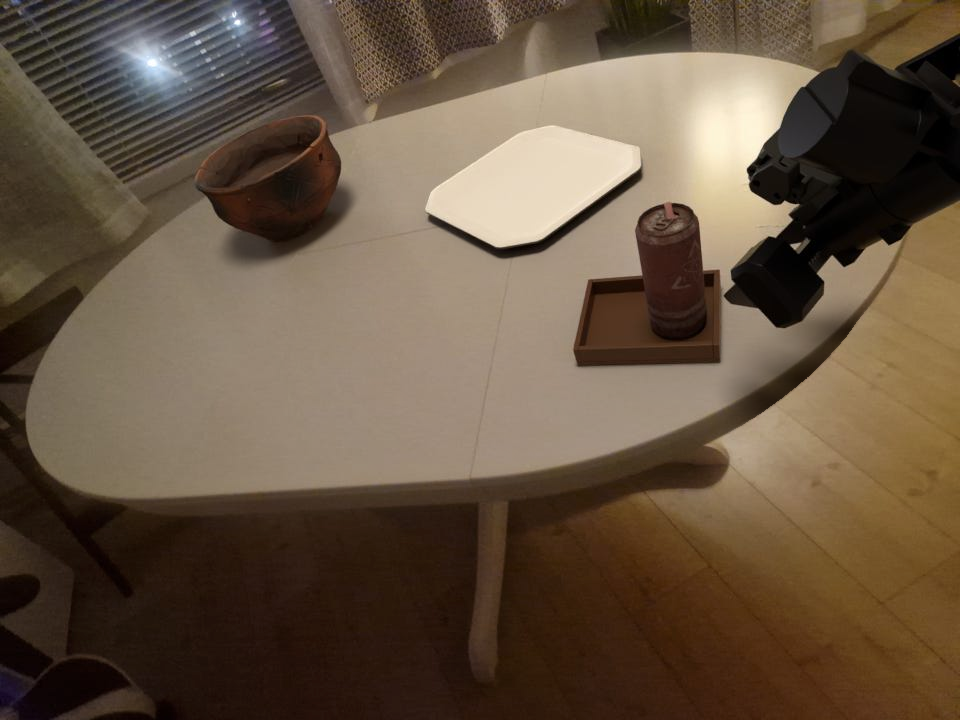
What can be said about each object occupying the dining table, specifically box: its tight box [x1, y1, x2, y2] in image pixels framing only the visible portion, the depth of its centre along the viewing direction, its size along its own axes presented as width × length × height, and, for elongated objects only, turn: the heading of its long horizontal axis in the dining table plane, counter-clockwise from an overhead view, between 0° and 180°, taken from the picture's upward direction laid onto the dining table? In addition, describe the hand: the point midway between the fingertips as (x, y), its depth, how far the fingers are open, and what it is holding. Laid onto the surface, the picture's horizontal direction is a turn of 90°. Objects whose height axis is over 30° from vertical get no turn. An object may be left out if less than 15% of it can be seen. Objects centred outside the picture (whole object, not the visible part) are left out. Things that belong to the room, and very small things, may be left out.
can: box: [634, 201, 707, 339], centre depth 68 cm, size 6×6×14 cm
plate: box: [424, 124, 643, 250], centre depth 103 cm, size 29×29×2 cm
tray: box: [572, 269, 722, 367], centre depth 74 cm, size 15×12×3 cm
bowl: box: [194, 114, 342, 243], centre depth 116 cm, size 25×25×15 cm
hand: (754, 269), depth 60 cm, fingers open, 9 cm apart
